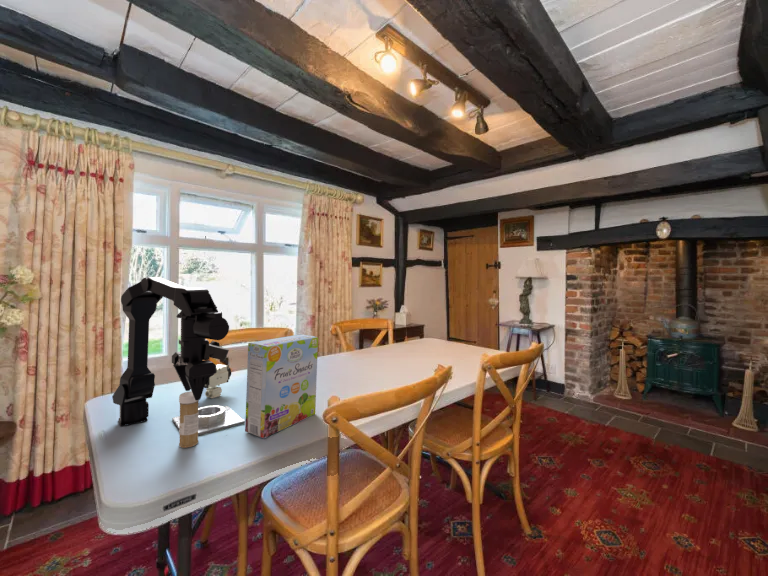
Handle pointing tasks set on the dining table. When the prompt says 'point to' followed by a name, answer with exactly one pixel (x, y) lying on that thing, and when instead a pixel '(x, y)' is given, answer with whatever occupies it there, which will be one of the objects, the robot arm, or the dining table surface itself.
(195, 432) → the sprinkles bottle
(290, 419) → the snack box
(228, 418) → the duct flange
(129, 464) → the dining table surface
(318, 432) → the dining table surface
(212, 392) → the pneumatic valve
